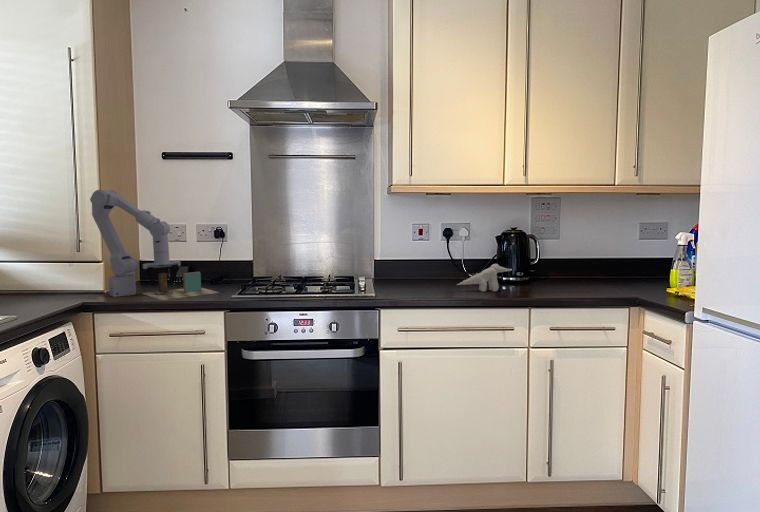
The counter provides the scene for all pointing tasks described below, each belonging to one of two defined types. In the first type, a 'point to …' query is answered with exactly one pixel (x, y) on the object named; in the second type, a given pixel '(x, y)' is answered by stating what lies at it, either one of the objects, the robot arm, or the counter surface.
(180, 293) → the board
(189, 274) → the tile
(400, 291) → the counter surface
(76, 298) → the counter surface
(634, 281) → the counter surface
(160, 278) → the wooden post on base
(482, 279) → the dinosaur statue
